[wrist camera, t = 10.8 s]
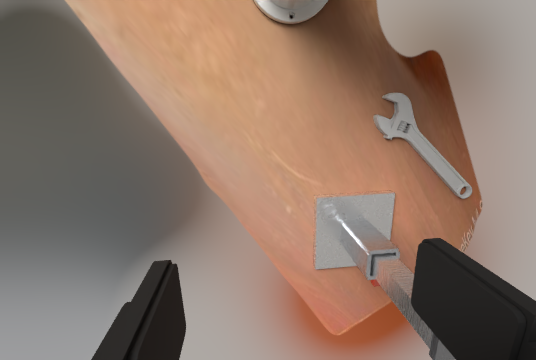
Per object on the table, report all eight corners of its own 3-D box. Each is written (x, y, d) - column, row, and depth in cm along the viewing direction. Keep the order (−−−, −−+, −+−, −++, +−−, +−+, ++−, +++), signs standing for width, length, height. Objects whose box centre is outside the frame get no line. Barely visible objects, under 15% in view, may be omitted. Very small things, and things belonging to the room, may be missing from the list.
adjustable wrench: (468, 188, 50) (476, 191, 48) (441, 211, 50) (448, 215, 49) (393, 86, 43) (400, 85, 41) (363, 114, 44) (368, 115, 42)
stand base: (314, 195, 46) (337, 223, 35) (390, 190, 47) (435, 216, 36) (313, 264, 50) (333, 309, 39) (383, 258, 51) (422, 300, 40)
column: (359, 235, 42) (441, 325, 25) (377, 234, 42) (471, 322, 25) (357, 260, 43) (434, 362, 26) (375, 258, 43) (463, 358, 26)
